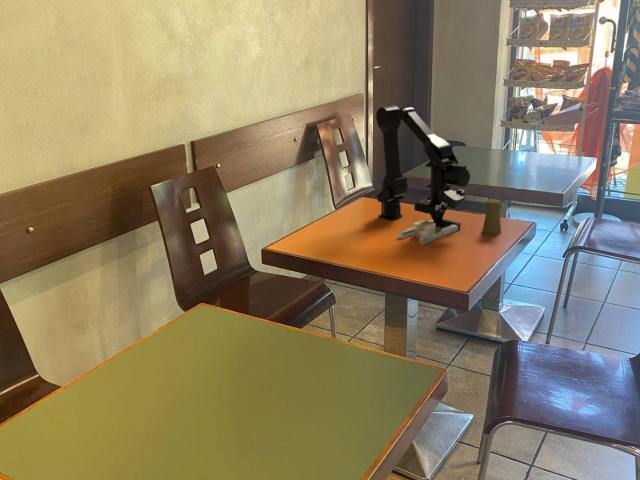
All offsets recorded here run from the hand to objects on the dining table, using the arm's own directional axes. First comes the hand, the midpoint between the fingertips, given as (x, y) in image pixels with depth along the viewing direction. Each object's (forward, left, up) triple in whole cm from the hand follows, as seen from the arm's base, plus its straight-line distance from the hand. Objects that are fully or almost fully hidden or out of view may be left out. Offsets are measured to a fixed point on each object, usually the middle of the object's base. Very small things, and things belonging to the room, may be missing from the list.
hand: (437, 226), depth 210 cm
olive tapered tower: (+14, +11, -2) cm, 18 cm away
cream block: (0, -7, -2) cm, 7 cm away
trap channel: (0, -4, -2) cm, 4 cm away
